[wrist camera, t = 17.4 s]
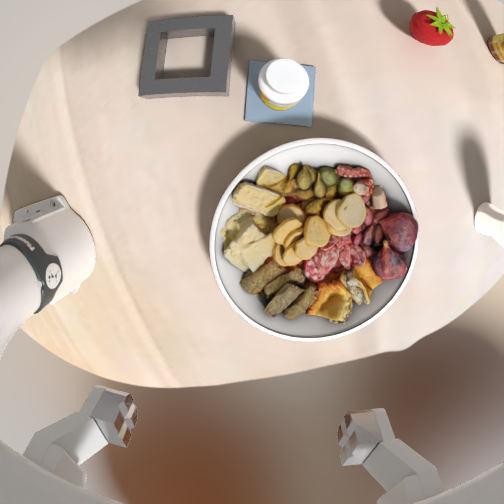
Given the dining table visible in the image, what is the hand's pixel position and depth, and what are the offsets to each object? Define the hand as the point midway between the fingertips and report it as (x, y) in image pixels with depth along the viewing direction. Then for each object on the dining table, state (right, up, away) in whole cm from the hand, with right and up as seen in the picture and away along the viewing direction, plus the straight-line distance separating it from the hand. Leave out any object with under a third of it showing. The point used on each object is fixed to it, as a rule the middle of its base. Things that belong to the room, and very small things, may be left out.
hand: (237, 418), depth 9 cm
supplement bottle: (+4, +27, +24) cm, 37 cm away
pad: (+4, +28, +25) cm, 37 cm away
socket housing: (-8, +33, +23) cm, 41 cm away
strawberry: (+26, +40, +19) cm, 52 cm away
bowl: (+10, +8, +33) cm, 35 cm away
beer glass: (+43, +12, +29) cm, 54 cm away
